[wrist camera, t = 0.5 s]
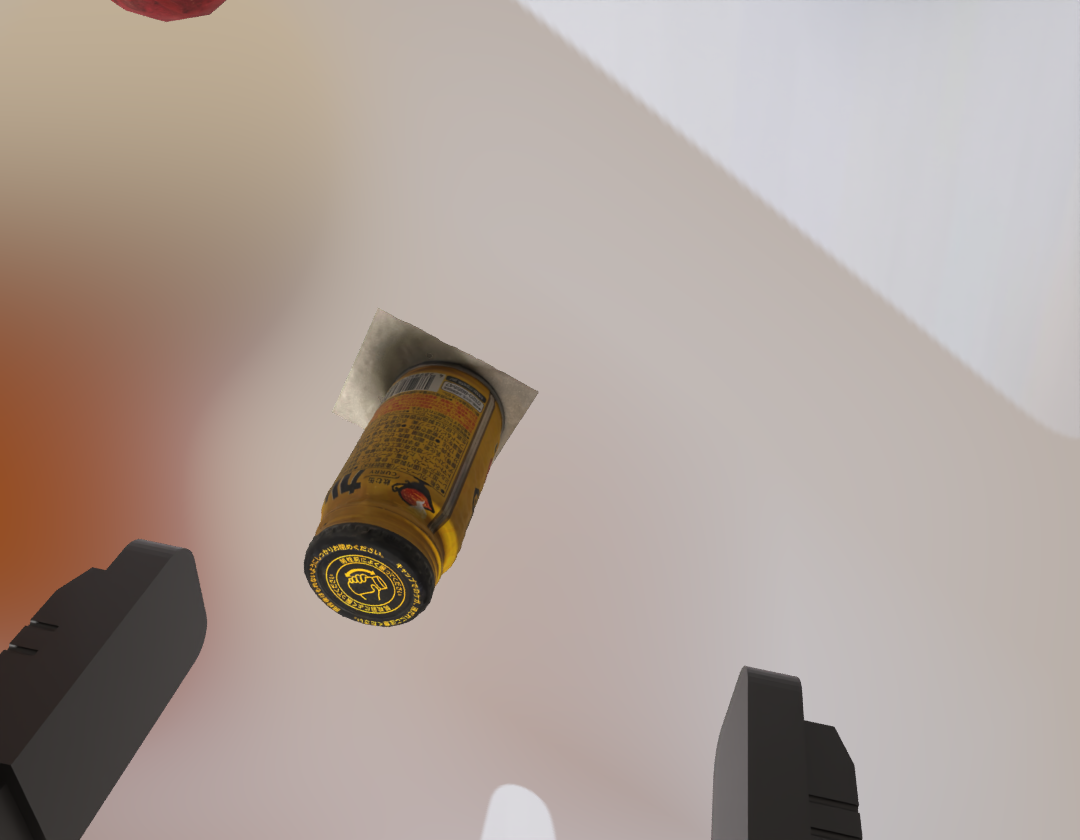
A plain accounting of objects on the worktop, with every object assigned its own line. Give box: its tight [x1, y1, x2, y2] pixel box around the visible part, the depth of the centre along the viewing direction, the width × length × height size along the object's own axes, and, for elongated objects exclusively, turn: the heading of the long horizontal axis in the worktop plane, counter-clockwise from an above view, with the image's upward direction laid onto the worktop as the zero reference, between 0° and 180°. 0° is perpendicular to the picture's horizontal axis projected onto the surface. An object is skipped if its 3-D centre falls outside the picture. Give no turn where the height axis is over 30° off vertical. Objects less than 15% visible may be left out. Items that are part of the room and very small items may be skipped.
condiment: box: [304, 308, 538, 627], centre depth 39 cm, size 7×8×12 cm
